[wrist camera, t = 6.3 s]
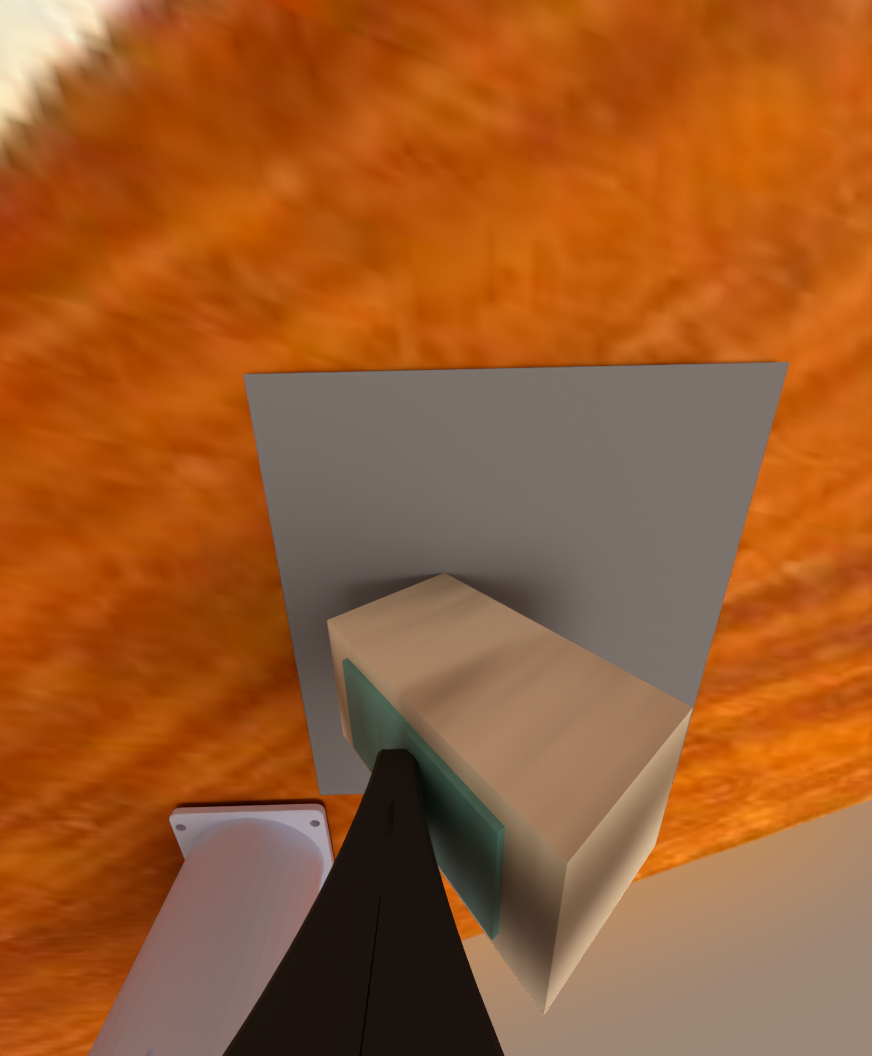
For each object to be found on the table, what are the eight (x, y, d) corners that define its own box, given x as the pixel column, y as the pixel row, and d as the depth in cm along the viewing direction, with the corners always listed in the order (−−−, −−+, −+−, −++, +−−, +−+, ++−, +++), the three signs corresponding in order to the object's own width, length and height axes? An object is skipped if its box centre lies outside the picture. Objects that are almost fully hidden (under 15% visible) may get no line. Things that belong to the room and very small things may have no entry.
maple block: (446, 673, 18) (655, 845, 11) (338, 737, 15) (538, 1025, 8) (444, 572, 16) (692, 707, 9) (321, 622, 13) (560, 872, 6)
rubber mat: (667, 775, 21) (672, 784, 21) (322, 785, 21) (320, 795, 20) (777, 362, 14) (789, 362, 13) (249, 374, 14) (243, 373, 13)
